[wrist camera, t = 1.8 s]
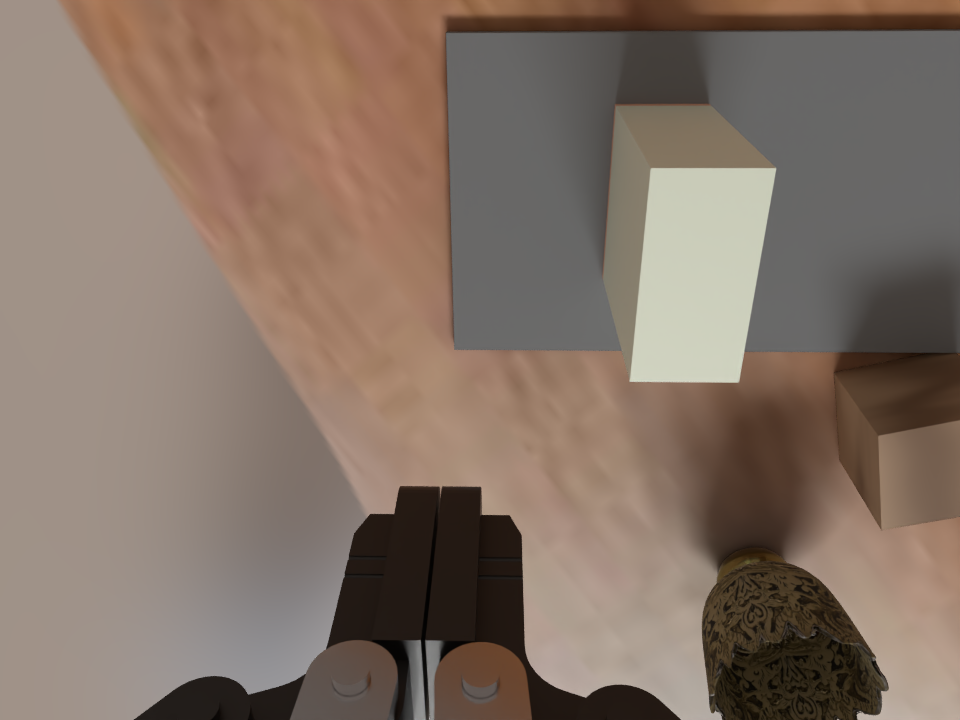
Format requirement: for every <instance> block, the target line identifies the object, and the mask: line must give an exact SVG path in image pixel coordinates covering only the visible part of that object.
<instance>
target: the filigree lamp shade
mask: <svg viewBox="0 0 960 720" xmlns="http://www.w3.org/2000/svg"><path fill="white" fill-rule="evenodd" d="M702 640H703V650H704V658H705V667H706V675H707V683H708V691H709V704H710V710H711V713H714V712H715V710H716V712H719V713H720V714H721V716H722V720H837V719H839V720H857V716H856V715H857V714H858V713H862V712H863V713H864V714H868V715H879V714H880V712H881V708H882V696H881V691H887V690H888V689H889V687H888V683H887V680H886V678H885V676H884V675H883V674H882V672H881V671H880V669H879V667H878V665H877V663H876V660H875V659H876V656H875V655H874V654H873V653H872V651H871V650H870V648H869V646H868V645H867V643H866V642H865V640H864V639H863V637H862V636H861V634H860V633H859V631H858V630H857V628H856V627H855V625H854V624H853V622H852V621H851V619H850V618H849V616H848V615H847V613H846V612H845V610H844V609H843V607H842V606H841V605H840V603H839V602H838V601H837V599H836V598H835V597H834V595H833V594H832V593H831V592H830V590H829V589H828V588H827V587H826V586H825V585H824V584H823V583H822V582H821V581H820V580H819V579H817V578H816V577H814V576H813V575H812V574H810V573H809V572H807V571H806V570H804V569H802V568H799V567H797V566H795V565H792V564H788V563H787V562H786V561H785V560H784V559H783V558H782V557H780V556H779V555H778V554H776V553H775V552H773V551H771V550H769V549H765V548H760V547H751V548H745V549H741V550H739V551H736V552H734V553H733V554H731V555H730V556H728V557H727V558H726V559H725V560H724V561H723V563H722V564H721V566H720V568H719V571H718V576H717V584H716V585H715V586H714V587H713V589H712V590H711V592H710V594H709V596H708V598H707V600H706V603H705V606H704V610H703V618H702ZM859 711H862V712H859ZM857 712H858V713H857Z"/></svg>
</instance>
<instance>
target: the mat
mask: <svg viewBox="0 0 960 720" xmlns="http://www.w3.org/2000/svg"><path fill="white" fill-rule="evenodd" d="M446 52H447V90H448V127H449V165H450V202H451V240H452V278H453V315H454V350H587V351H622V350H621V346H620V342H619V338H618V335H617V331H616V327H615V323H614V319H613V316H612V312H611V308H610V304H609V300H608V297H607V293H606V289H605V285H604V281H603V278H602V274H603V261H604V247H605V233H606V219H607V206H608V192H609V178H610V164H611V151H612V137H613V123H614V109H615V104H710V105H711V106H712V107H713V108H714V109H715V110H716V111H717V112H718V113H719V114H720V115H721V116H722V117H724V118H725V119H726V120H727V121H728V122H729V123H730V124H731V125H732V126H733V127H734V128H735V129H736V130H737V131H738V132H739V133H740V134H741V135H742V136H743V137H744V138H745V139H746V140H748V141H749V142H750V143H751V144H752V145H753V146H754V147H755V148H756V149H757V150H758V151H759V152H760V153H761V154H762V155H763V156H764V157H765V158H766V159H767V160H768V161H769V162H770V163H772V164H773V165H774V166H775V167H776V173H775V179H774V185H773V191H772V196H771V202H770V208H769V213H768V219H767V225H766V230H765V236H764V242H763V248H762V253H761V259H760V265H759V270H758V276H757V282H756V287H755V293H754V299H753V304H752V310H751V316H750V322H749V327H748V333H747V339H746V344H745V350H744V352H891V353H960V29H913V30H695V31H477V32H446Z"/></svg>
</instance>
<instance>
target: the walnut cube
mask: <svg viewBox="0 0 960 720" xmlns="http://www.w3.org/2000/svg"><path fill="white" fill-rule="evenodd" d="M834 383H835V399H836V414H837V429H838V445H839V460H840V462H841V464H842V465H843V467H844V469H845V470H846V472H847V474H848V475H849V477H850V479H851V480H852V482H853V484H854V485H855V487H856V489H857V490H858V492H859V494H860V495H861V497H862V499H863V500H864V502H865V504H866V505H867V507H868V509H869V510H870V512H871V514H872V515H873V517H874V519H875V520H876V522H877V524H878V525H879V527H880V529H881V530H887V529H893V528H899V527H904V526H910V525H916V524H921V523H927V522H933V521H939V520H944V519H950V518H956V517H960V356H959V355H958V354H957V353H927V354H922V355H917V356H912V357H907V358H902V359H897V360H893V361H888V362H883V363H878V364H873V365H868V366H863V367H859V368H854V369H849V370H844V371H839V372H834Z"/></svg>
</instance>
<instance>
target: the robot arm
mask: <svg viewBox="0 0 960 720" xmlns="http://www.w3.org/2000/svg"><path fill="white" fill-rule="evenodd" d="M429 717H430V720H681V719H680V718H678V717H677V716H676V715H675V714H674V713H673V712H672V711H671V710H670V709H669V708H668V707H666V706H665V705H664V704H663V703H662V702H661V701H660V700H659V699H657V698H656V697H655V696H654V695H652V694H650V693H648V692H647V691H645V690H642V689H640V688H637V687H633V686H628V685H611V686H606V687H603V688H600V689H598V690H596V691H594V692H592V693H591V694H590V695H589V696H588V697H587V698H585V697H582V696H578V695H575V694H572V693H569V692H566V691H563V690H561V689H558V688H556V687H554V686H552V685H550V684H549V683H547V682H546V681H544V680H543V679H542V678H541V677H540V676H539V675H538V674H537V673H536V672H535V671H534V669H533V668H532V667H531V665H530V663H529V661H528V659H527V656H526V653H525V641H524V605H523V570H522V535H521V533H520V532H519V530H518V529H517V527H516V525H515V524H514V522H513V520H512V519H511V517H510V515H482V495H481V487H445V486H443V487H442V491H441V498H440V487H428V486H400V488H399V491H398V497H397V502H396V508H395V513H394V514H370V515H369V516H368V517H367V519H366V520H365V521H364V522H363V524H362V525H361V526H360V527H359V528H358V530H357V531H356V532H355V533H354V537H353V541H352V545H351V549H350V553H349V560H348V562H347V566H346V570H345V578H344V579H343V583H342V587H341V591H340V595H339V599H338V603H337V608H336V612H335V616H334V620H333V625H332V628H331V633H330V637H329V641H328V645H327V648H326V650H324V651H323V652H322V653H320V654H319V655H318V656H317V657H316V658H315V659H314V660H313V662H312V663H311V665H310V666H309V668H308V670H307V672H306V674H305V675H303V676H302V677H300V678H298V679H297V680H295V681H293V682H290V683H288V684H285V685H283V686H279V687H276V688H272V689H268V690H265V691H261V692H257V693H253V694H250V695H248V694H247V692H246V691H245V689H244V688H243V687H242V686H241V685H240V684H239V683H238V682H236V681H234V680H232V679H230V678H226V677H219V676H210V677H203V678H198V679H195V680H192V681H189V682H187V683H185V684H183V685H181V686H180V687H178V688H177V689H175V690H173V691H172V692H171V693H169V694H168V695H167V696H165V697H164V698H163V699H161V700H160V701H159V702H157V703H156V704H155V705H153V706H152V707H150V708H149V709H148V710H146V711H145V712H144V713H142V714H141V715H140V716H138V717H137V718H136V719H134V720H429Z"/></svg>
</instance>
